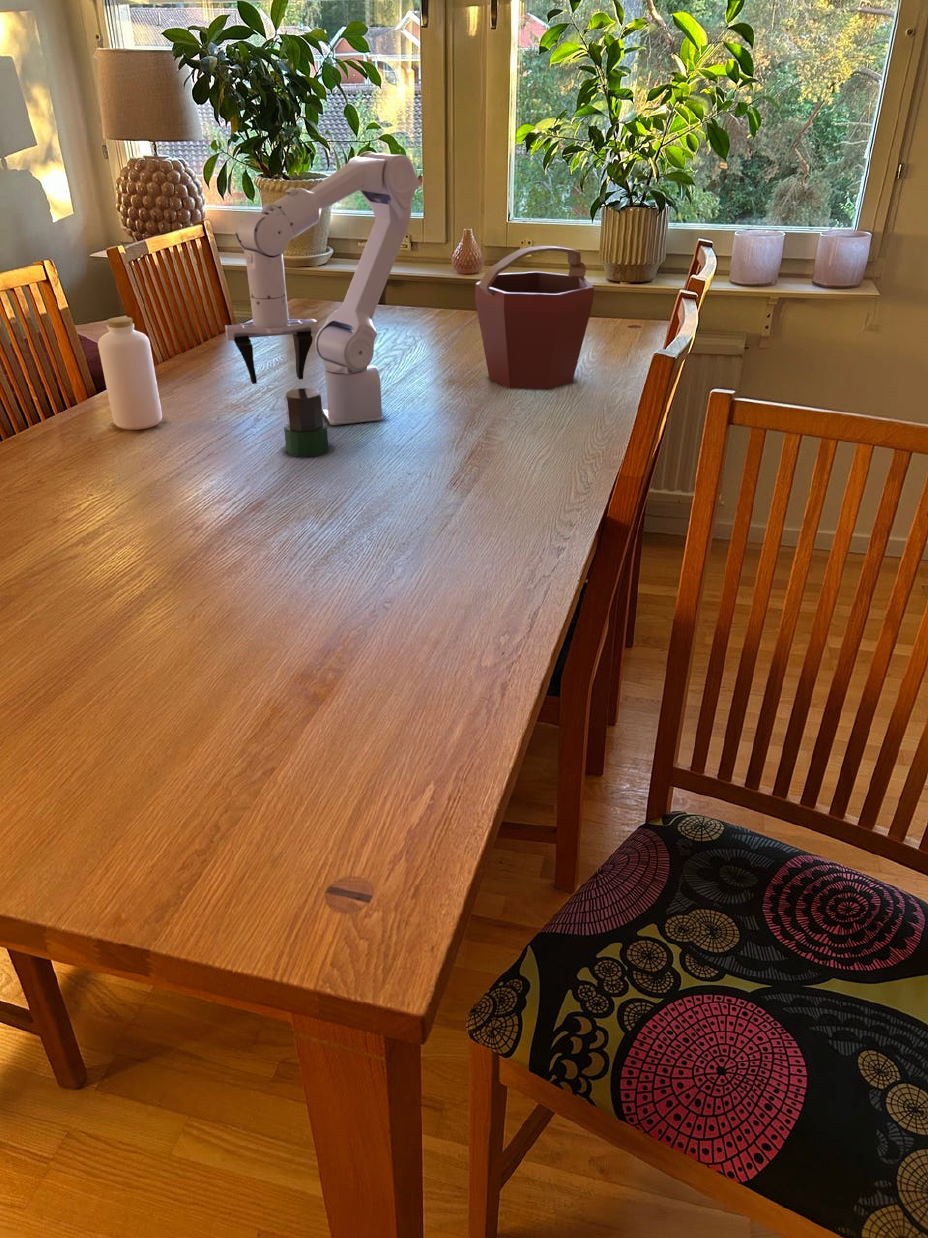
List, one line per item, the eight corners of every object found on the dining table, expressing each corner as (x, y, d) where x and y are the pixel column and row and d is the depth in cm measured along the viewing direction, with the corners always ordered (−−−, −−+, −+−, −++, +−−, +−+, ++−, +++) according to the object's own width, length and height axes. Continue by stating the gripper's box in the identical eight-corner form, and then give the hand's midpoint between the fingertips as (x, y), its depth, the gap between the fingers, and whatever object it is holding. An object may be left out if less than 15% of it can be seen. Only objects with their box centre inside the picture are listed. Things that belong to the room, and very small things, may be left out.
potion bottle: (172, 418, 166) (155, 315, 156) (144, 434, 159) (124, 327, 150) (133, 414, 168) (114, 312, 159) (104, 428, 161) (82, 323, 152)
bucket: (566, 358, 200) (574, 235, 187) (612, 388, 182) (623, 253, 169) (459, 368, 194) (459, 241, 181) (495, 400, 176) (498, 261, 163)
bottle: (323, 440, 157) (320, 403, 153) (332, 454, 151) (329, 415, 148) (283, 445, 155) (279, 407, 151) (290, 459, 149) (286, 420, 146)
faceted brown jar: (318, 419, 154) (316, 386, 151) (325, 429, 149) (322, 396, 146) (286, 422, 152) (283, 389, 149) (291, 433, 148) (288, 399, 145)
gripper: (225, 303, 142) (236, 391, 149) (318, 297, 146) (325, 382, 153) (219, 294, 147) (230, 378, 154) (309, 288, 151) (316, 370, 158)
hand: (277, 379), depth 154 cm, fingers open, 7 cm apart
